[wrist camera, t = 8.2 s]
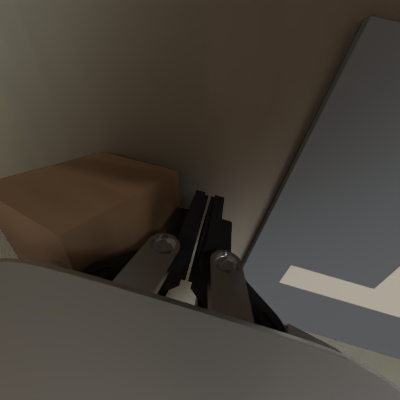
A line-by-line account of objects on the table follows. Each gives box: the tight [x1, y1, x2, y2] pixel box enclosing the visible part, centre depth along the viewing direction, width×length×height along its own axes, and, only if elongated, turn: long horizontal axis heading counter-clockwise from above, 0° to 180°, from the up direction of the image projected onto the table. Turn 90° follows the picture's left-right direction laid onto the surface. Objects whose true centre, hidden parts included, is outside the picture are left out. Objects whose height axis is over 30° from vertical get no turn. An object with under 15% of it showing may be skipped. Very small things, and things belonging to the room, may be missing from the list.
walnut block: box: [0, 152, 180, 272], centre depth 10 cm, size 6×6×6 cm
